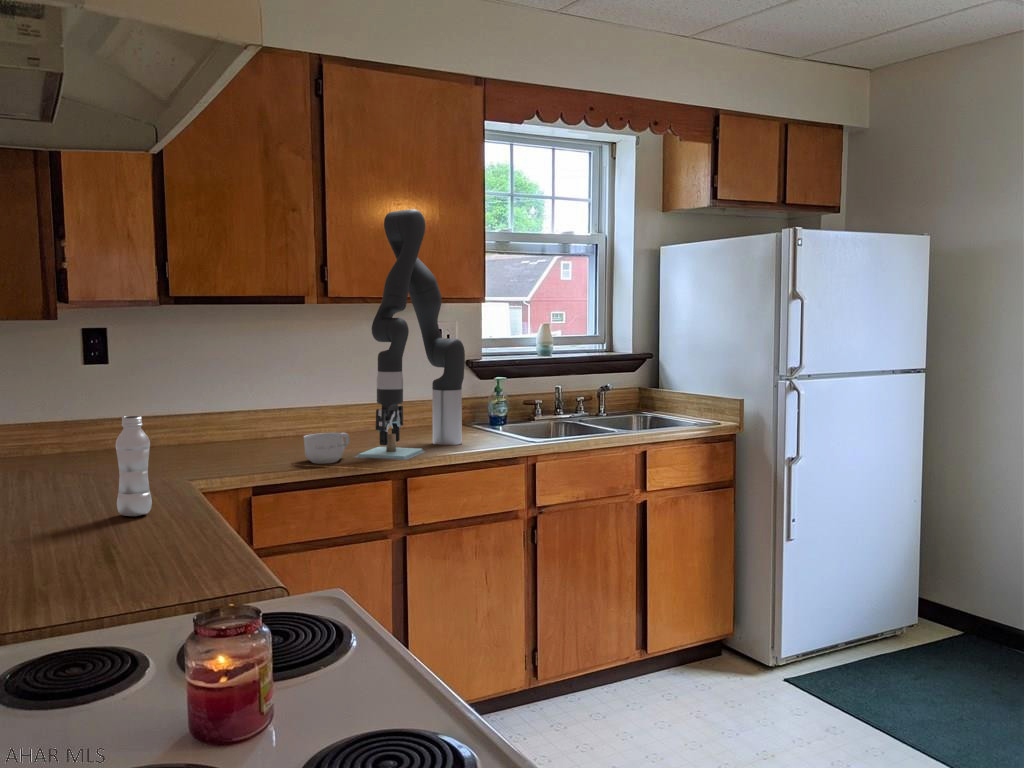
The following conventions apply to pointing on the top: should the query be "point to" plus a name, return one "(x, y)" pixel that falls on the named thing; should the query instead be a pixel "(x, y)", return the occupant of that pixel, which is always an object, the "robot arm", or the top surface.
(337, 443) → the teacup
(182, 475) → the top surface
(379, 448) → the lid
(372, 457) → the mat
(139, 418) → the plastic bottle
